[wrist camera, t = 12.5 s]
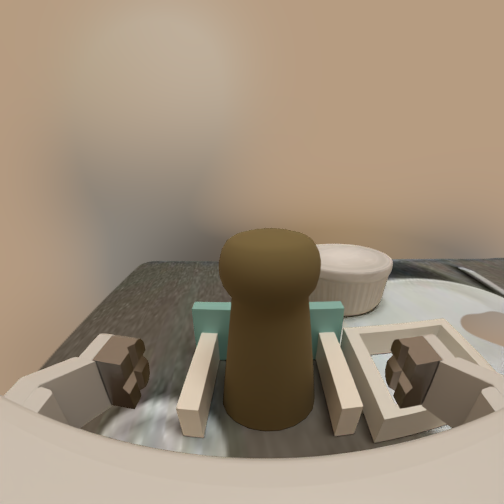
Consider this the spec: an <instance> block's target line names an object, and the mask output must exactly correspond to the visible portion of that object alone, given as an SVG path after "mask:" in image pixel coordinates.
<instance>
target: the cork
mask: <svg viewBox="0 0 504 504" xmlns="http://www.w3.org/2000/svg"><path fill="white" fill-rule="evenodd" d="M320 271H321V258H320V253H319V250H318V248H317V246H316V244H315V243H314V241H313V240H312V239H311V238H310V237H308V236H307V235H305V234H302V233H300V232H295V231H291V230H286V229H276V228H264V229H255V230H249V231H245V232H241V233H238V234H236V235H234V236H233V237H231V238H230V239H228V240H227V241H226V243H225V245H224V247H223V248H222V251H221V255H220V260H219V275H220V278H221V281H222V284H223V287H224V288H225V290H226V291H227V292H228V293H229V295H230V296H231V297H232V300H231V311H230V322H229V334H228V346H227V358H226V371H225V383H224V396H223V405H224V407H225V410H226V412H227V414H228V415H229V416H230V417H231V418H232V419H233V420H234V421H236V422H237V423H239V424H241V425H243V426H245V427H248V428H251V429H256V430H261V431H273V430H282V429H285V428H288V427H291V426H294V425H296V424H298V423H299V422H301V421H302V420H303V419H305V418H306V417H307V416H308V414H309V413H310V411H311V410H312V409H313V404H314V374H313V354H312V337H311V322H310V308H309V296H310V295H311V294H312V292H313V291H314V290H315V289H316V286H317V283H318V280H319V276H320Z"/></svg>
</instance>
